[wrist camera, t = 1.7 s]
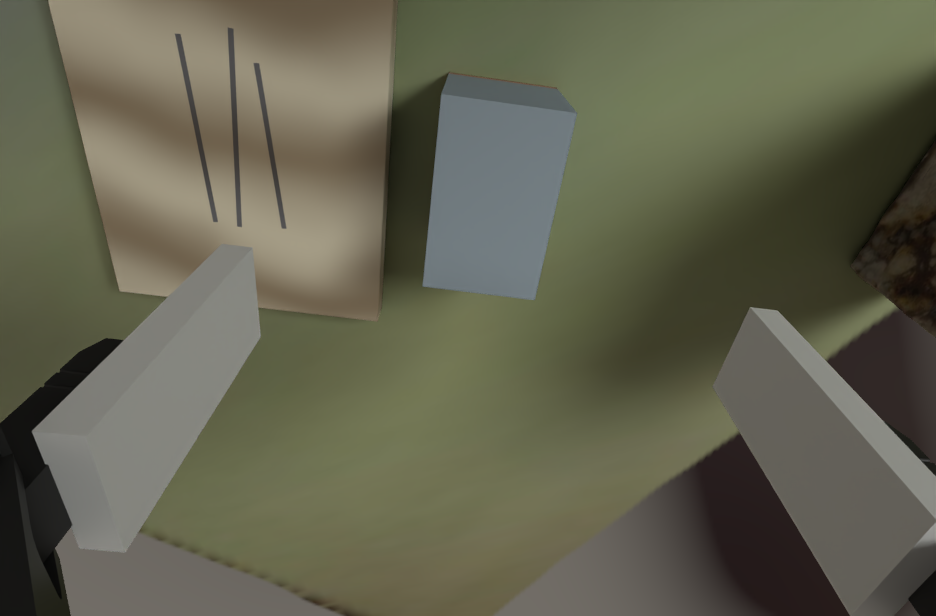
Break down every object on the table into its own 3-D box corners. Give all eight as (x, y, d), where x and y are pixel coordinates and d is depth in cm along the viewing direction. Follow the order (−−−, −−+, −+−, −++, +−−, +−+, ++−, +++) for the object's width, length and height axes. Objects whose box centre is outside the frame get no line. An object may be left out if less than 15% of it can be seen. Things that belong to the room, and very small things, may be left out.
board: (36, -159, 20) (6, -169, 19) (402, -101, 21) (398, -107, 19) (134, 278, 30) (119, 291, 28) (381, 307, 31) (377, 321, 29)
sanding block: (449, 72, 24) (441, 93, 19) (556, 87, 24) (577, 113, 19) (432, 232, 28) (422, 286, 23) (524, 244, 28) (534, 300, 23)
